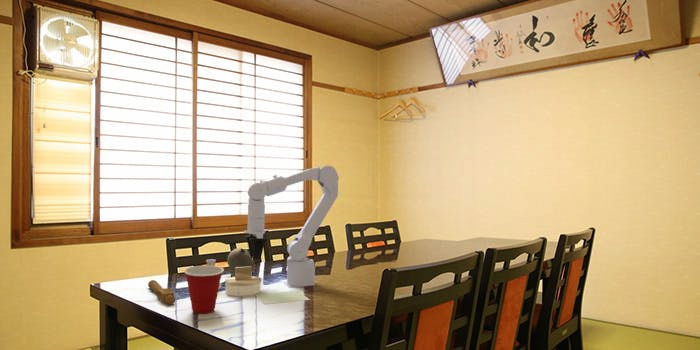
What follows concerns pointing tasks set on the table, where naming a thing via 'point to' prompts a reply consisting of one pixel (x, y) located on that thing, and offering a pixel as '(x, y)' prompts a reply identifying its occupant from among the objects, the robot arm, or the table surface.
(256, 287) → the bowl
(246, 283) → the lid
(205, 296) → the plastic cup
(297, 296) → the mat
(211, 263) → the flask
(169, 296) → the tap handle
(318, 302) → the table surface
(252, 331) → the table surface
